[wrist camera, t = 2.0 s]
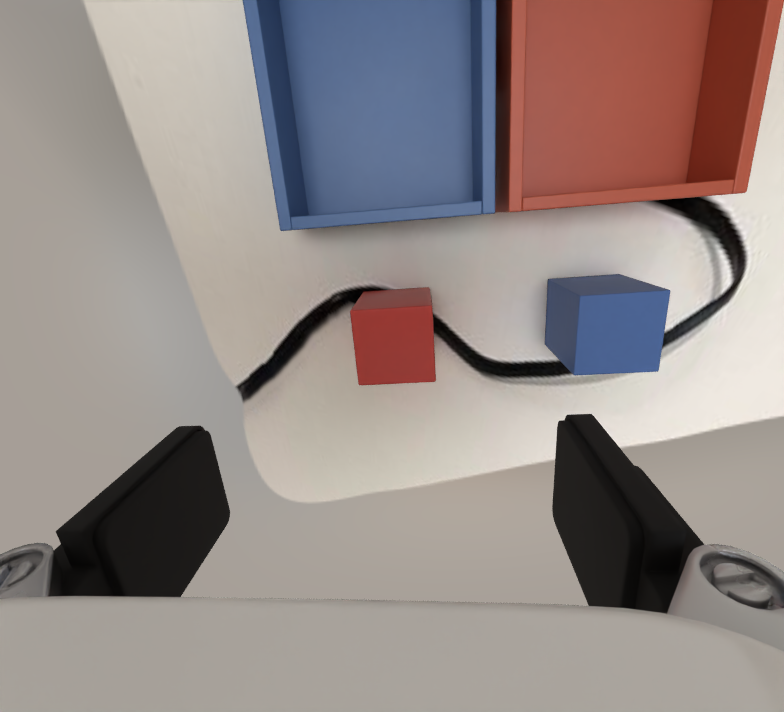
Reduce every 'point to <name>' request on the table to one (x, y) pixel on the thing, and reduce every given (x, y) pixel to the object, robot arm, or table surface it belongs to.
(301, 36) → the blue bin
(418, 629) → the robot arm
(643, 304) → the blue block
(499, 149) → the red bin
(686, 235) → the table surface
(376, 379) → the red block
